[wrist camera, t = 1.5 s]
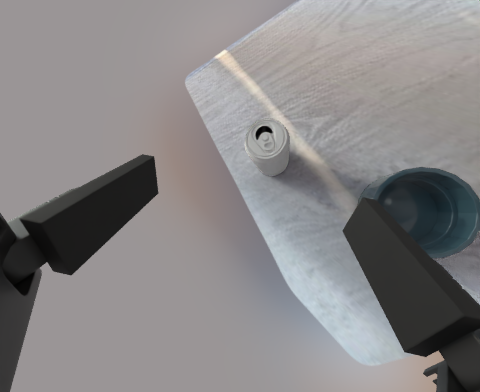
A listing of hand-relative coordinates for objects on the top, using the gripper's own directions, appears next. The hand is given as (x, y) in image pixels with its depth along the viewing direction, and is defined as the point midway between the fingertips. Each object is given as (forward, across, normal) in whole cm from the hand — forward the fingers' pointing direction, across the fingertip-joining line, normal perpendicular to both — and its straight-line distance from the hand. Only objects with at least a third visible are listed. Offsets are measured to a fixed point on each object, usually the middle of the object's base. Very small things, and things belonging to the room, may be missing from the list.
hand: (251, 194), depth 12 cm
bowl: (+18, +25, -8) cm, 32 cm away
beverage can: (+25, +3, -6) cm, 26 cm away
